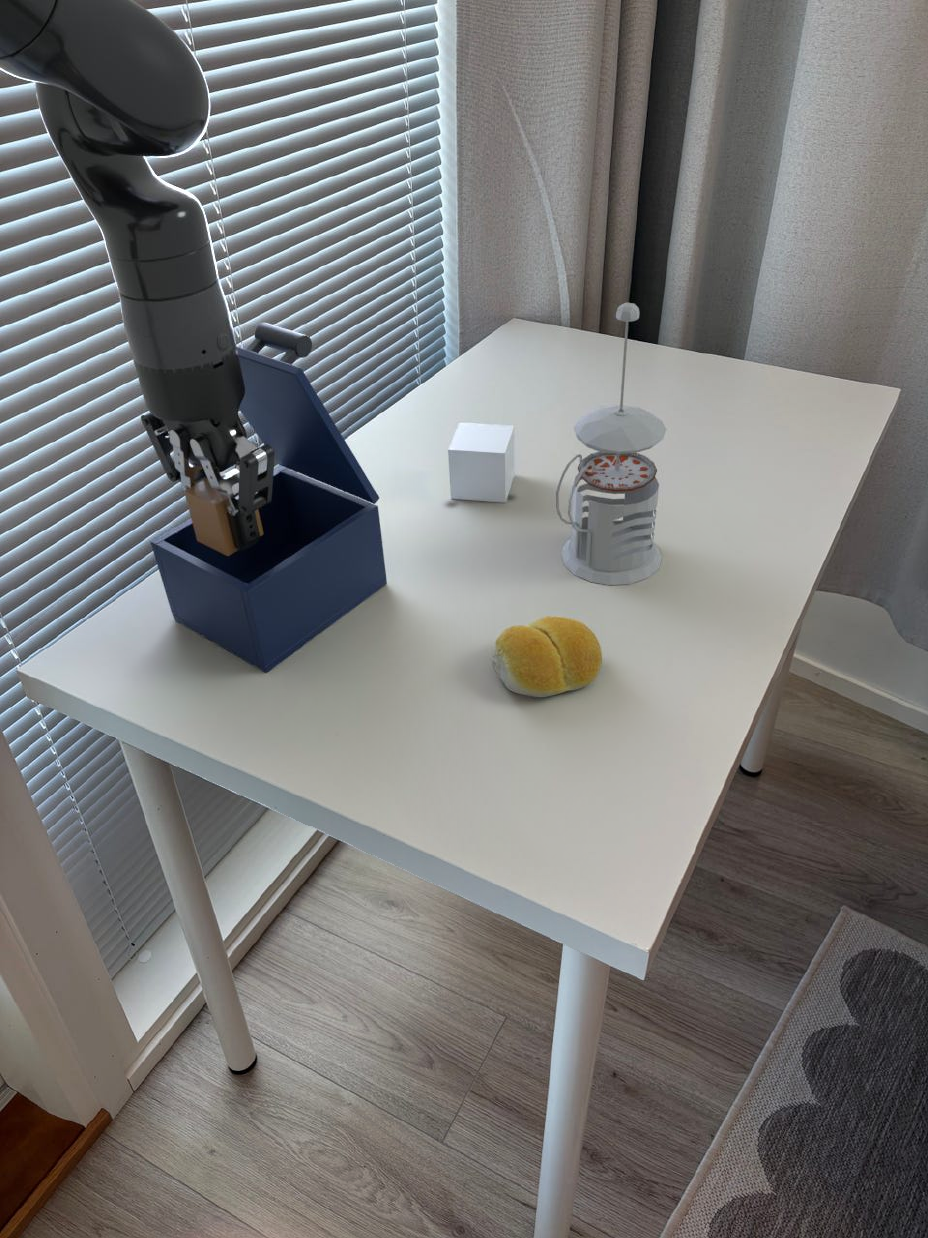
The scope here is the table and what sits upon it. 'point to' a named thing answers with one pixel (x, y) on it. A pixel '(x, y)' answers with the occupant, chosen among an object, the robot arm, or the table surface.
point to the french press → (615, 491)
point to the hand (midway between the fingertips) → (229, 535)
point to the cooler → (277, 571)
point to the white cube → (481, 462)
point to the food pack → (212, 516)
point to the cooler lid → (296, 414)
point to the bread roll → (547, 657)
